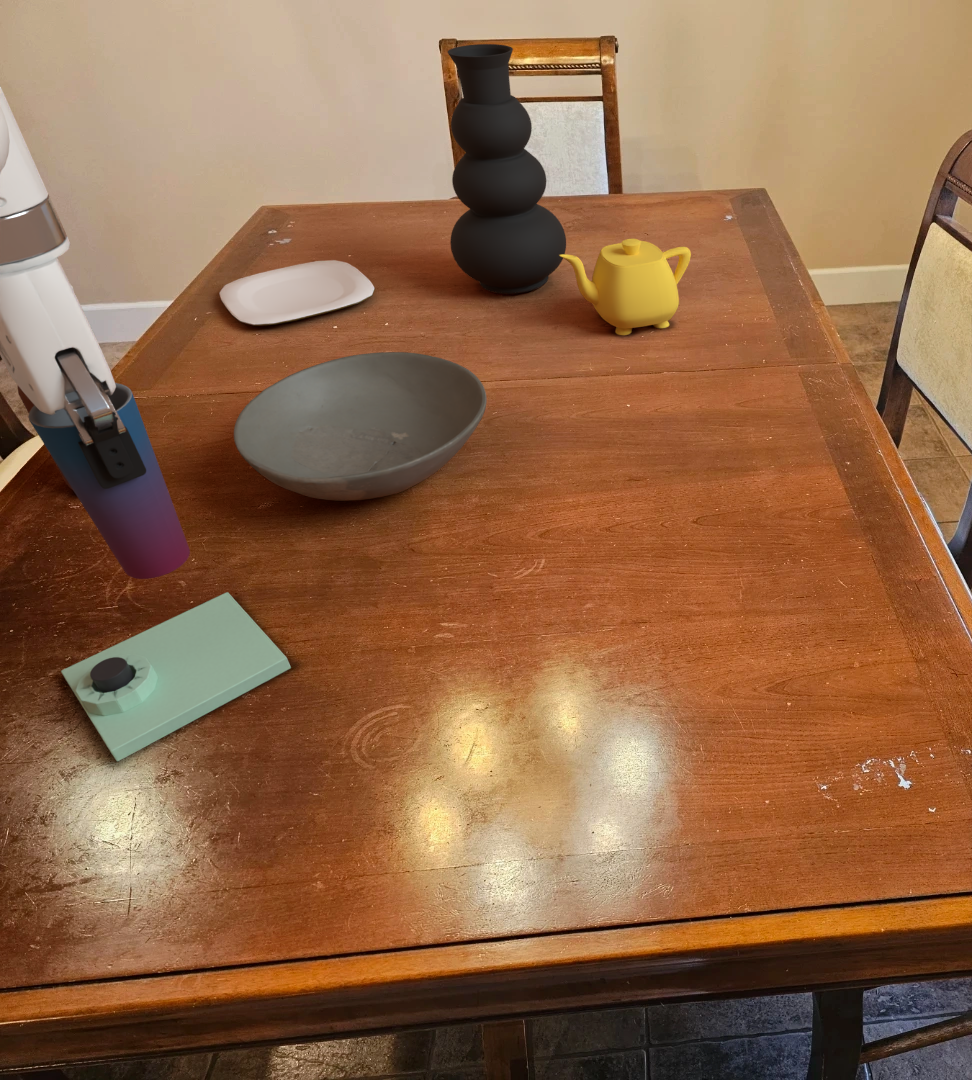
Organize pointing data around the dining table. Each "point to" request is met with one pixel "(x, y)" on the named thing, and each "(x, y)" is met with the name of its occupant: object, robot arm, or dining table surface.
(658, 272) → the teapot
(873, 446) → the dining table surface
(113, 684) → the tare button
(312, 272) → the plate
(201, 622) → the scale
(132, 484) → the cup
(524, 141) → the vase
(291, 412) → the bowl
